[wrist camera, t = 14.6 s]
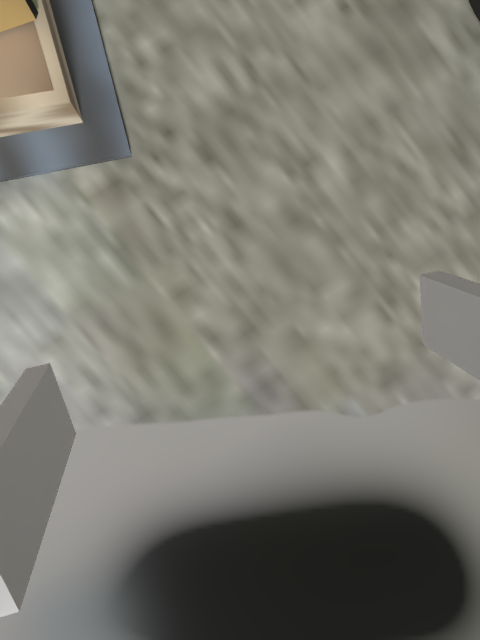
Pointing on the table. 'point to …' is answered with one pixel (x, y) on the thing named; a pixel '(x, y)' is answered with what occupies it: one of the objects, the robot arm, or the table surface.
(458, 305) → the robot arm
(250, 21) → the table surface
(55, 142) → the stacking base
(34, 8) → the puzzle cube
